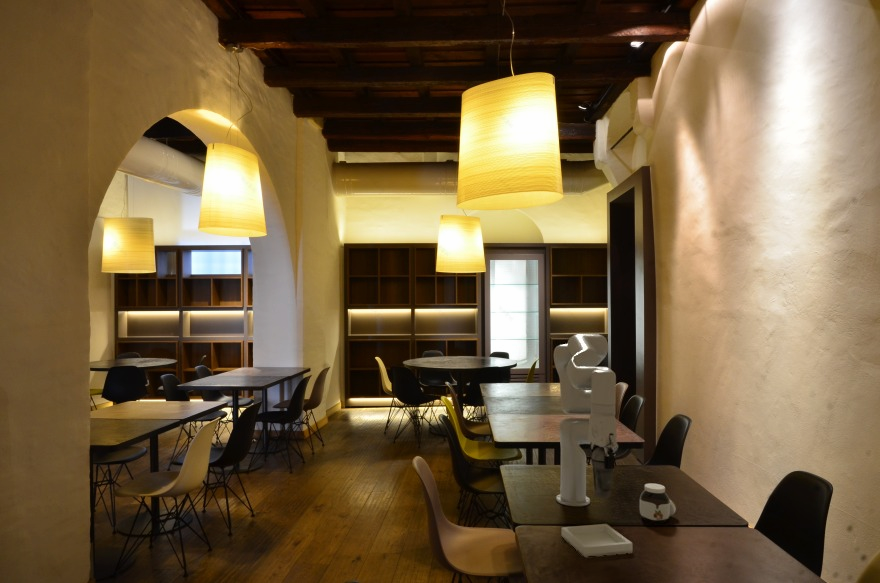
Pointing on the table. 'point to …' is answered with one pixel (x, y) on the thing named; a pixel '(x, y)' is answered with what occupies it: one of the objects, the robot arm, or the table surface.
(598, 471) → the beverage cup
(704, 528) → the table surface
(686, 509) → the table surface
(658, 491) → the spread jar
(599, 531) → the walled tray
